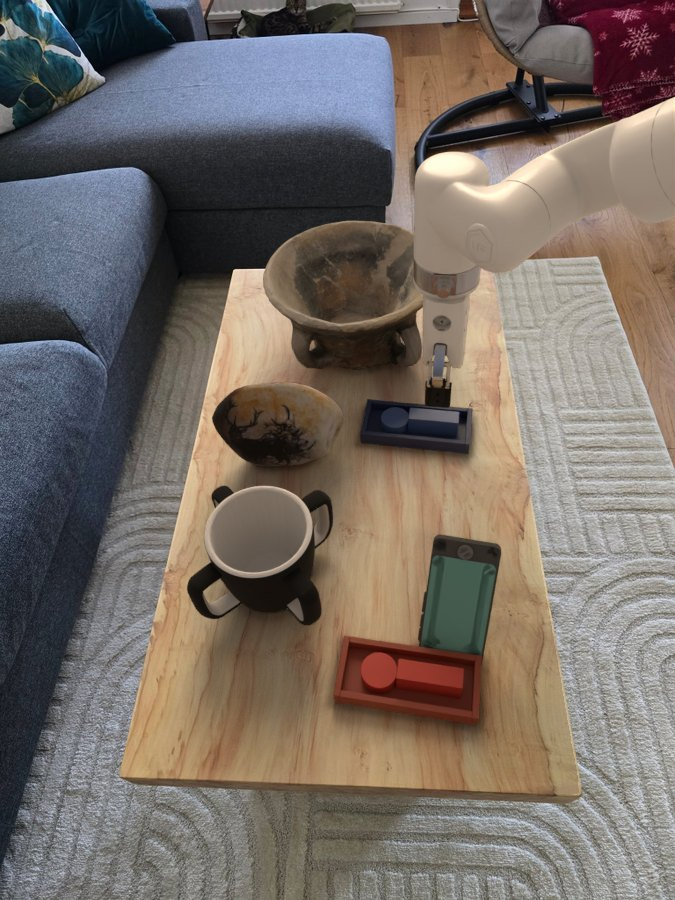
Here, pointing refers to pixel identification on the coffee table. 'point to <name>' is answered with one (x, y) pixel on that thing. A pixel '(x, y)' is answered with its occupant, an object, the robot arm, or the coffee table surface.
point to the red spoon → (410, 676)
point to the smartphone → (459, 595)
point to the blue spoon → (420, 421)
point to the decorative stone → (278, 423)
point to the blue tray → (377, 436)
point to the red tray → (407, 701)
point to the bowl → (348, 294)
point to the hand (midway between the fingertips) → (440, 378)
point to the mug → (263, 552)
